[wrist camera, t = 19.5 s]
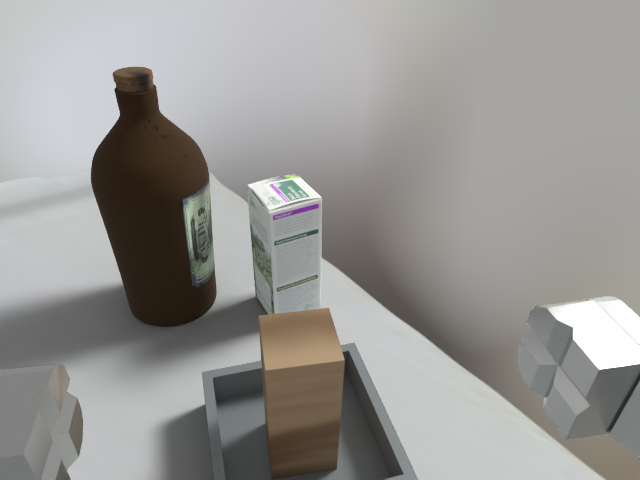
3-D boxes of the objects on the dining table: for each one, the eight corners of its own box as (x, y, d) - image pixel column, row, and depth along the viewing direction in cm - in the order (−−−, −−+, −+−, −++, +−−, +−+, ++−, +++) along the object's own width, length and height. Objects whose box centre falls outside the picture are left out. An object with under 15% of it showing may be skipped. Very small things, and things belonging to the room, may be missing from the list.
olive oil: (108, 329, 51) (37, 87, 37) (143, 267, 60) (96, 54, 46) (210, 334, 51) (177, 92, 37) (230, 271, 60) (209, 57, 46)
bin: (206, 403, 44) (201, 372, 41) (351, 372, 47) (354, 342, 45) (225, 566, 33) (219, 536, 31) (411, 512, 36) (419, 482, 34)
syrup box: (322, 311, 54) (326, 195, 46) (273, 328, 52) (268, 209, 44) (299, 282, 58) (299, 170, 50) (252, 297, 56) (245, 182, 48)
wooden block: (336, 469, 38) (344, 360, 31) (271, 480, 37) (265, 370, 30) (324, 414, 42) (328, 307, 35) (265, 423, 41) (258, 315, 34)
